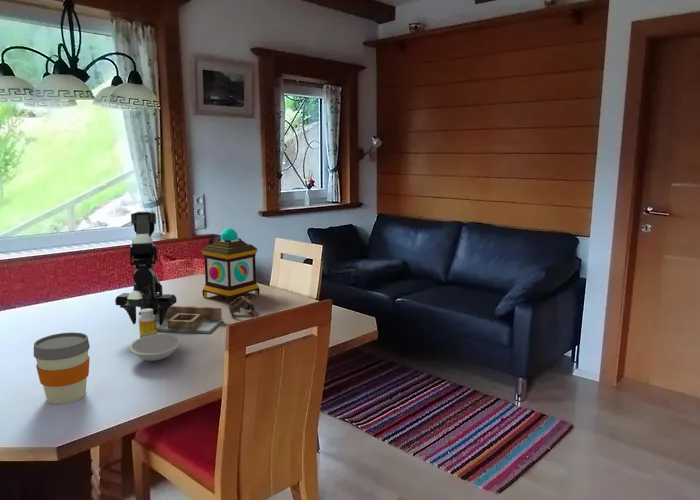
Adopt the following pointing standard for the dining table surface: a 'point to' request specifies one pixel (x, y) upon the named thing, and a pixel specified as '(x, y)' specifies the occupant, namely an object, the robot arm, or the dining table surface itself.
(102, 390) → the dining table surface
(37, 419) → the dining table surface
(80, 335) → the reusable coffee cup
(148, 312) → the supplement bottle
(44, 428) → the dining table surface
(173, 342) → the dish
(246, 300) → the grey-brown curved piece
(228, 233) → the decorative lantern
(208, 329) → the board
